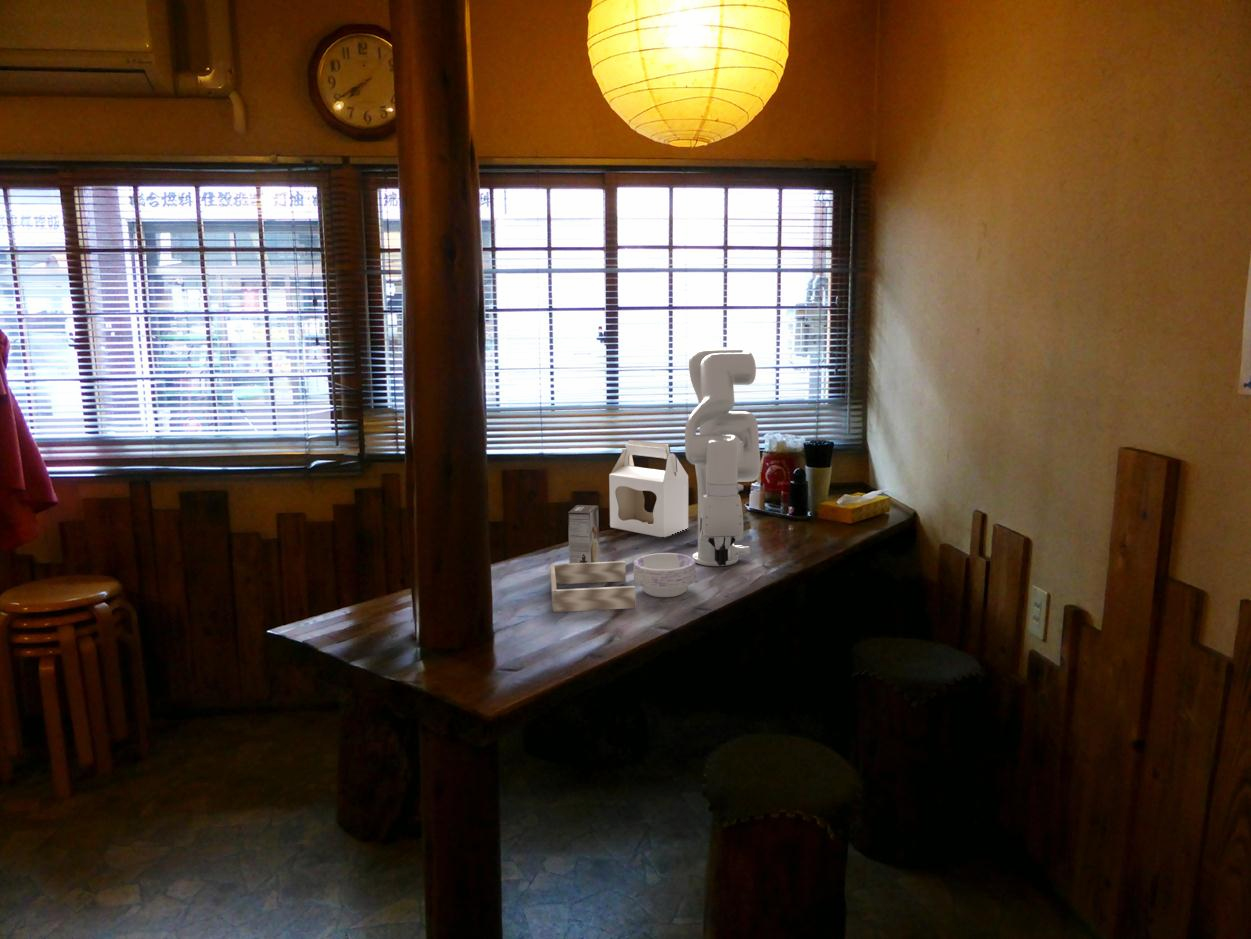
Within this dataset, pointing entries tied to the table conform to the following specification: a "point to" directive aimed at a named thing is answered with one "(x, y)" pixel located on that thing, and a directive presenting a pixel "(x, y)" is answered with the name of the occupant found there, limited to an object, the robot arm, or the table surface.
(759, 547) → the table surface
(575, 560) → the coffee box
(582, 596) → the box
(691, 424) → the robot arm
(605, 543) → the table surface
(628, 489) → the gable box
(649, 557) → the paper bowls
